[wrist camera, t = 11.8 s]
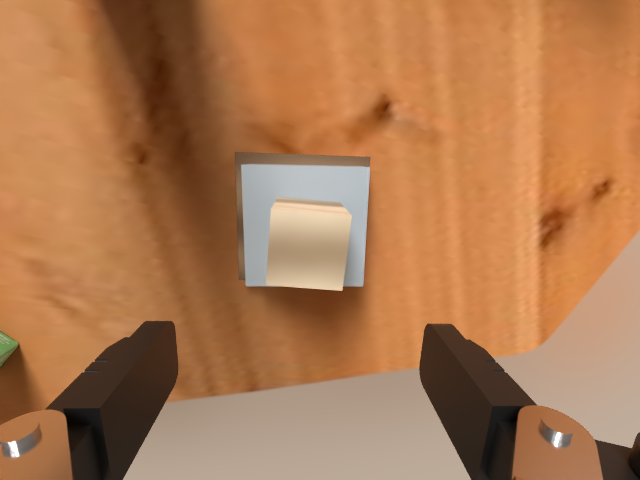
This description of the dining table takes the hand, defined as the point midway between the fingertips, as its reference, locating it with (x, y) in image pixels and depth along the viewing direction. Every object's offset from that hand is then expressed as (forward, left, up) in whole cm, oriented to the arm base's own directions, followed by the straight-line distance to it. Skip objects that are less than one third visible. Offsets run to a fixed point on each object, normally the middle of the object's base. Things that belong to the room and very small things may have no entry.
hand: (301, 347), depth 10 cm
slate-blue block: (0, 0, -20) cm, 20 cm away
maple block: (0, 0, -16) cm, 16 cm away
